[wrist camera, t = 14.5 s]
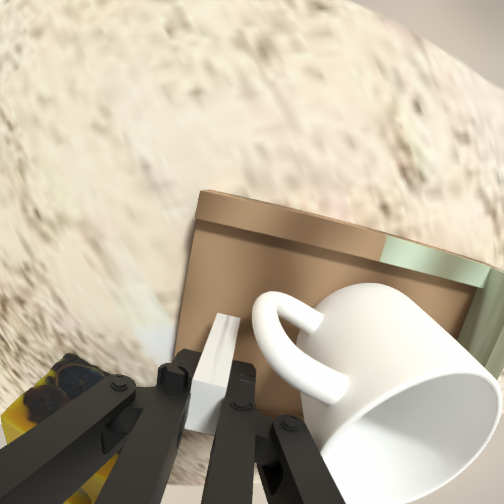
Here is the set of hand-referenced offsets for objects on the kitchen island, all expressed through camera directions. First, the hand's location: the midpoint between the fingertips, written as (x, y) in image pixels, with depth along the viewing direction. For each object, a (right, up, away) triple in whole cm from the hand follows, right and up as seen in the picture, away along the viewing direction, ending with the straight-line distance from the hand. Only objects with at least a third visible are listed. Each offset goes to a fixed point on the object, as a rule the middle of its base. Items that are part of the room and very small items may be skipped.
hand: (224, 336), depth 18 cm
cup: (+7, 0, +2) cm, 7 cm away
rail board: (+8, -1, +4) cm, 8 cm away
